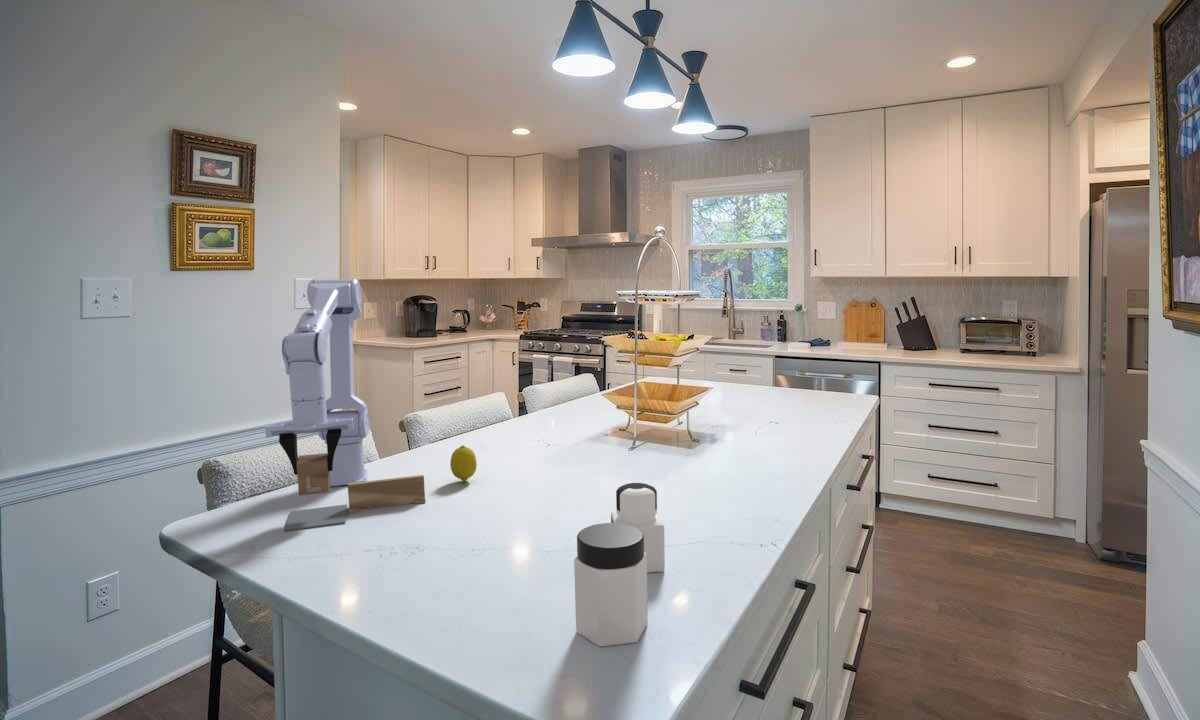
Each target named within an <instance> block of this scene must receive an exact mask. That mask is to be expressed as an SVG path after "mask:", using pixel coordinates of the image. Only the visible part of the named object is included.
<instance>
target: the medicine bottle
mask: <svg viewBox="0 0 1200 720" xmlns="http://www.w3.org/2000/svg"><path fill="white" fill-rule="evenodd" d="M657 493H658V492H657V489H656V488H655V487H654V486H652V485H650V484H647V483H642V482H629V483H625V484H623V485H621V486H619V487H618V488H617V489H616V492H615V494H616V495H615V496H616V497H615V498H616V502H615V503H616V505H615V506H616V511H615V510H613V511H611V512H610V523H621V524H627V525H631V526H634V527H636V528H638V529H639V530H641V531H642V533H643V535H644V551H645V552H646V553H647V574H648V573H663V572H665V569H666V566H665V557H666V556H665V553H666V552H665V526H664V523H663V521H662V519H661V517H660V515H659V512H658V496H657V495H658V494H657Z"/></svg>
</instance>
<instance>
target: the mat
mask: <svg viewBox="0 0 1200 720" xmlns="http://www.w3.org/2000/svg"><path fill="white" fill-rule="evenodd" d="M347 510H348V504H347V503H346V504H340V505H331V506H324V507H315V508H314V507H313V508H307V509H299V510H298V509H297V510H291V511H289V514H288V518H287V521H286V523H285V526H284V529H283V532H290V530H291V531H297V530H296V529H299V530H305V529H304V528H306V529H314V528H319V526H322V527H327V526H326V525H329V526H336V525H335V524H337V525H344V524H346V520H347V512H348V511H347ZM313 527H314V528H313Z"/></svg>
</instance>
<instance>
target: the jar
mask: <svg viewBox="0 0 1200 720" xmlns="http://www.w3.org/2000/svg"><path fill="white" fill-rule="evenodd" d="M576 550H577V551H576V552H577V554H576V557H575V558H574V560H573V563H574V601H575V604H574V605H575V631H576V633H577V634H579V635H580V636H582V637H583V638H586V639H587V640H588V641H590V642H592V643H593V644H595V645H597V646H598V647H600V648H602V647H603V648H604V647H610V646H619V645H626V644H635V643H638V641H639V640H640V638H641V636H642V634H643V633H644V631H645V628H646V627H647V625H648V617H649V615H648V573H647V553H646V552H645V551H644V535H643V533H642V531H641V530H639V529H638V528H636V527H634V526H631V525H627V524H621V523H611V522H605V523H596V524H592V525H589V526H586V527H585V528H582V529H581V530H580V531H578V533H577V535H576Z"/></svg>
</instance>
